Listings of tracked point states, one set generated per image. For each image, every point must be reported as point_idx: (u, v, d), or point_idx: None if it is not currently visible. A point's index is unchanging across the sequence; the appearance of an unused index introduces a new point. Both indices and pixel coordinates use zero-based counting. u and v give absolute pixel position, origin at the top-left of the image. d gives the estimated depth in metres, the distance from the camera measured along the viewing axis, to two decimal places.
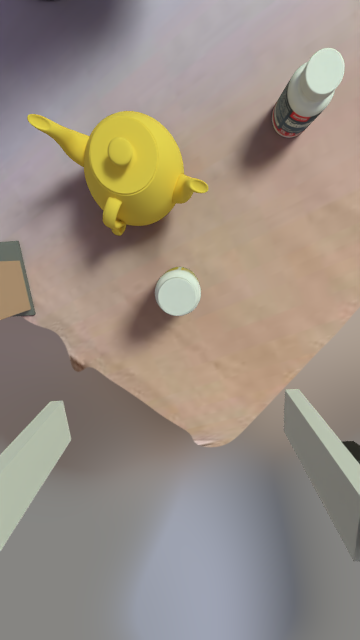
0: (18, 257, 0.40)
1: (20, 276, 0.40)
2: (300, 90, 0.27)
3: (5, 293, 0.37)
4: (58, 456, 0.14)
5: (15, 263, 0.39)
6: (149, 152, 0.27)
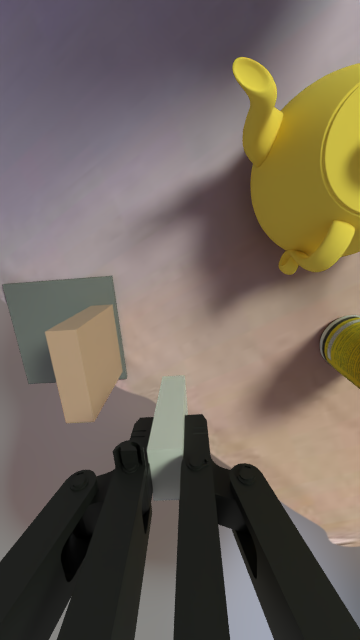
0: (111, 299, 0.27)
1: (114, 327, 0.27)
2: None
3: (104, 363, 0.24)
4: None
5: (109, 310, 0.26)
6: None
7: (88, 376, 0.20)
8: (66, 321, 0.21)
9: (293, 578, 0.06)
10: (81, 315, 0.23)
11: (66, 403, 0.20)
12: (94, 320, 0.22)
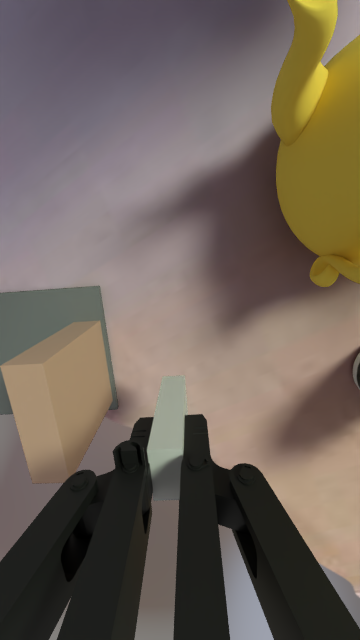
0: (98, 315, 0.22)
1: (101, 349, 0.22)
2: None
3: (86, 398, 0.19)
4: None
5: (95, 328, 0.21)
6: None
7: (62, 422, 0.15)
8: (35, 347, 0.16)
9: (293, 578, 0.06)
10: (57, 337, 0.18)
11: (32, 458, 0.15)
12: (73, 345, 0.17)
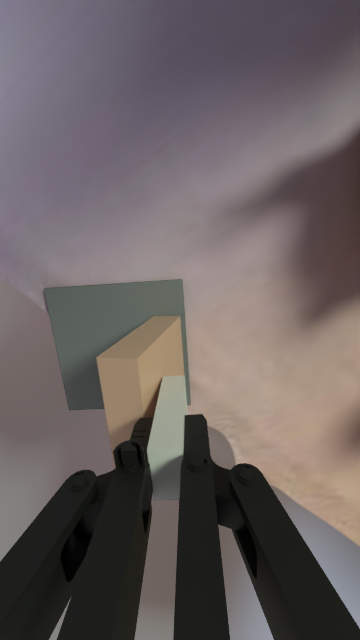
0: (179, 309, 0.22)
1: (180, 345, 0.21)
2: None
3: None
4: None
5: (176, 324, 0.20)
6: None
7: None
8: (124, 340, 0.16)
9: (293, 578, 0.06)
10: (143, 331, 0.18)
11: None
12: (159, 341, 0.16)
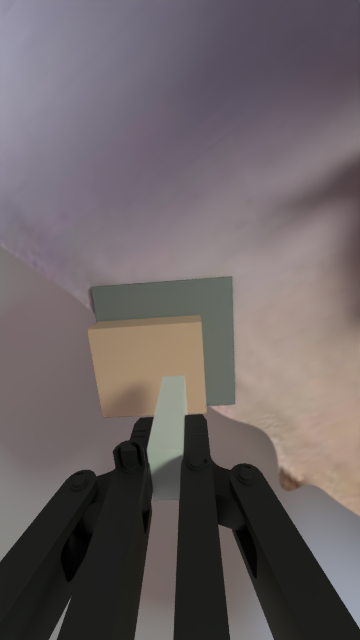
0: (228, 306, 0.21)
1: (195, 352, 0.20)
2: None
3: (144, 380, 0.21)
4: None
5: (186, 327, 0.19)
6: None
7: (102, 376, 0.21)
8: (127, 320, 0.22)
9: (293, 578, 0.06)
10: (148, 320, 0.21)
11: None
12: (132, 330, 0.20)
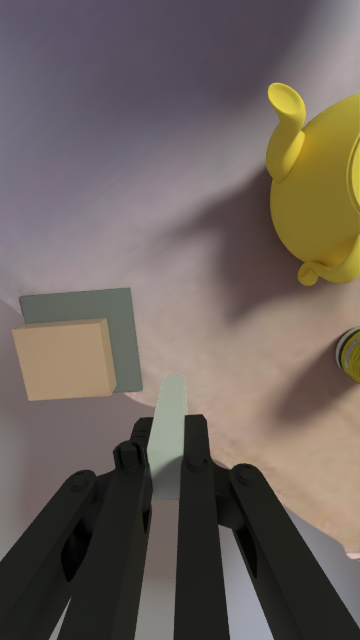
0: (128, 311, 0.27)
1: (96, 347, 0.26)
2: None
3: (59, 369, 0.26)
4: None
5: (88, 327, 0.25)
6: None
7: (26, 367, 0.26)
8: (48, 322, 0.27)
9: (293, 578, 0.06)
10: (63, 322, 0.27)
11: None
12: (46, 330, 0.25)
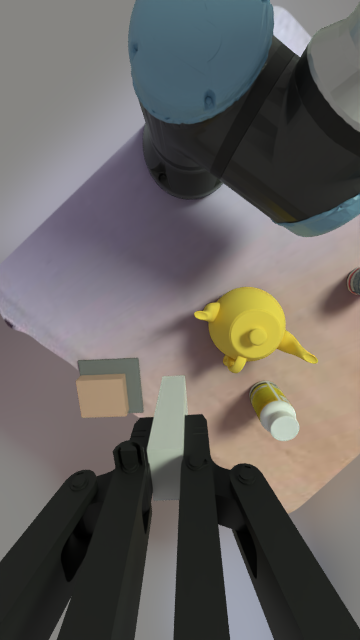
0: (137, 370, 0.50)
1: (120, 391, 0.49)
2: None
3: (99, 401, 0.49)
4: None
5: (116, 381, 0.48)
6: (274, 332, 0.38)
7: (81, 400, 0.49)
8: (93, 375, 0.50)
9: (293, 578, 0.06)
10: (102, 376, 0.50)
11: None
12: (94, 381, 0.48)
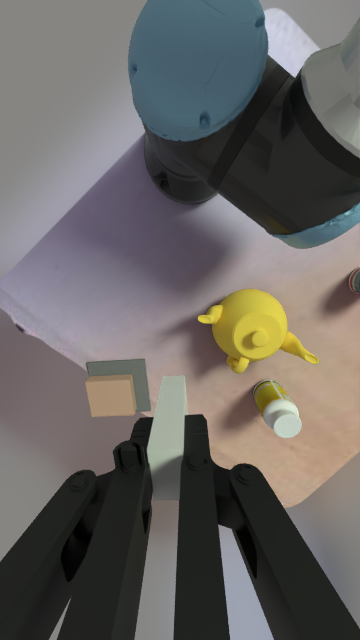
0: (143, 371, 0.52)
1: (127, 391, 0.50)
2: None
3: (108, 401, 0.51)
4: None
5: (123, 381, 0.50)
6: (276, 333, 0.39)
7: (91, 400, 0.51)
8: (101, 376, 0.52)
9: (293, 578, 0.06)
10: (110, 377, 0.51)
11: None
12: (102, 382, 0.50)
